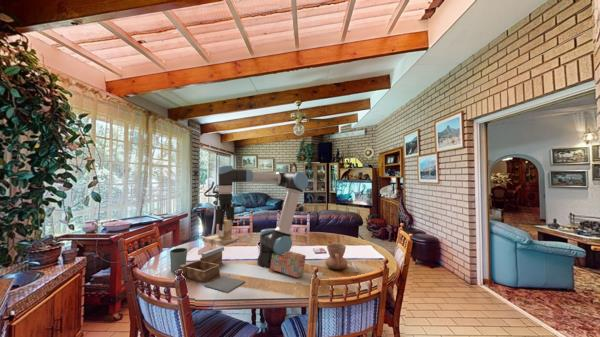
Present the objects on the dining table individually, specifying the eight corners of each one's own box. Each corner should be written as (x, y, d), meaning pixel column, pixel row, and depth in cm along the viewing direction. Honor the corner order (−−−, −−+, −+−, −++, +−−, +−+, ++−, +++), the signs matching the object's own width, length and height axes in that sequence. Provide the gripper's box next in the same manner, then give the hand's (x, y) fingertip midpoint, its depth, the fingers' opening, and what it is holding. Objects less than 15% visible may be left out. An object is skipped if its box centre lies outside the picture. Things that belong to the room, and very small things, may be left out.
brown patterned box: (269, 269, 152) (272, 248, 155) (275, 268, 157) (278, 248, 160) (297, 277, 140) (300, 255, 142) (303, 276, 145) (305, 255, 147)
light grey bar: (224, 250, 168) (224, 246, 168) (204, 257, 153) (204, 253, 153) (221, 249, 169) (221, 246, 169) (201, 257, 154) (201, 253, 154)
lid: (239, 241, 137) (239, 219, 137) (224, 246, 127) (225, 222, 128) (217, 237, 145) (217, 216, 145) (202, 242, 135) (202, 219, 136)
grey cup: (182, 264, 162) (183, 246, 162) (190, 268, 155) (190, 249, 156) (166, 269, 154) (167, 250, 154) (173, 273, 147) (174, 253, 148)
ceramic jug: (325, 262, 168) (325, 241, 169) (346, 263, 166) (346, 242, 167) (324, 272, 150) (324, 249, 151) (348, 274, 148) (348, 250, 149)
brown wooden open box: (237, 266, 160) (237, 254, 160) (199, 284, 132) (199, 271, 133) (217, 261, 168) (217, 250, 168) (177, 278, 140) (177, 265, 140)
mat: (245, 282, 136) (245, 281, 136) (227, 293, 123) (227, 291, 123) (223, 276, 143) (223, 275, 143) (204, 286, 131) (204, 285, 131)
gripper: (231, 192, 145) (231, 231, 144) (208, 193, 130) (207, 237, 129) (241, 192, 141) (240, 232, 141) (218, 194, 126) (218, 239, 126)
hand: (225, 235), depth 135 cm, fingers closed on lid, 4 cm apart
